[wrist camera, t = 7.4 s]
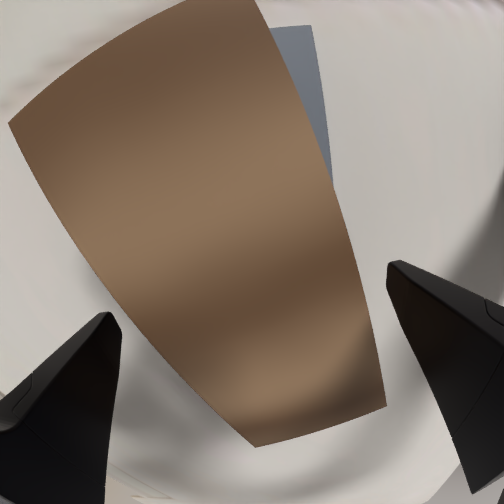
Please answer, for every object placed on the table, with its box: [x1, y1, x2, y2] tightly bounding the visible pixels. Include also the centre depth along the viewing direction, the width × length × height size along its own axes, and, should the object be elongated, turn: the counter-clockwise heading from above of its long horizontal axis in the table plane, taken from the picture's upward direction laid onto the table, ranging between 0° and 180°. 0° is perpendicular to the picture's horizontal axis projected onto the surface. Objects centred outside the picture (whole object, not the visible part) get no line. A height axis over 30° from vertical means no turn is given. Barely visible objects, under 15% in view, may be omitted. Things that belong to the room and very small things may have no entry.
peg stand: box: [269, 25, 333, 185], centre depth 14 cm, size 17×9×5 cm, turn 10°
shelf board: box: [8, 0, 387, 448], centre depth 10 cm, size 16×6×3 cm, turn 24°
